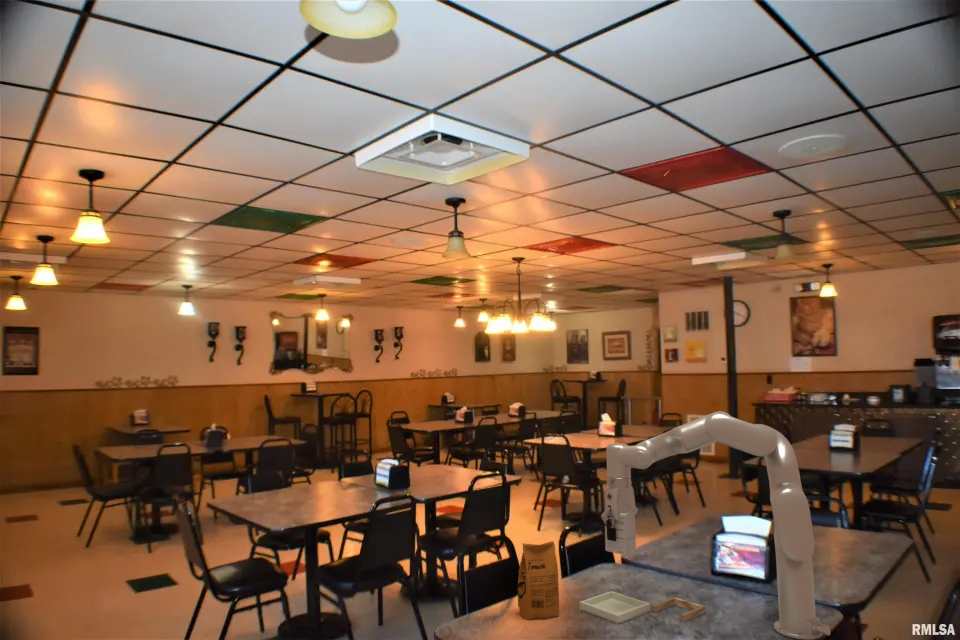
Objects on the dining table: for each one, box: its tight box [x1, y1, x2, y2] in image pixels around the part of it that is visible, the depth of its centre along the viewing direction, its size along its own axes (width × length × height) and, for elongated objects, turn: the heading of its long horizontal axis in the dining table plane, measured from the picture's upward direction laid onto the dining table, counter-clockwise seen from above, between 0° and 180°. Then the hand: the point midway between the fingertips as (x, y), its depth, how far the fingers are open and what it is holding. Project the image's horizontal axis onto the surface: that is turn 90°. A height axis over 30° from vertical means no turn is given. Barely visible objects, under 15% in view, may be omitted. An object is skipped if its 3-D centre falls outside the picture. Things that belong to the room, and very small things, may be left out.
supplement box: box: [604, 511, 637, 556], centre depth 204 cm, size 7×7×13 cm
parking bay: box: [651, 596, 707, 623], centre depth 200 cm, size 12×12×2 cm
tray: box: [579, 590, 651, 625], centre depth 202 cm, size 16×16×2 cm
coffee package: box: [517, 540, 560, 621], centre depth 202 cm, size 10×12×22 cm
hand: (620, 537), depth 204 cm, fingers closed on supplement box, 8 cm apart
